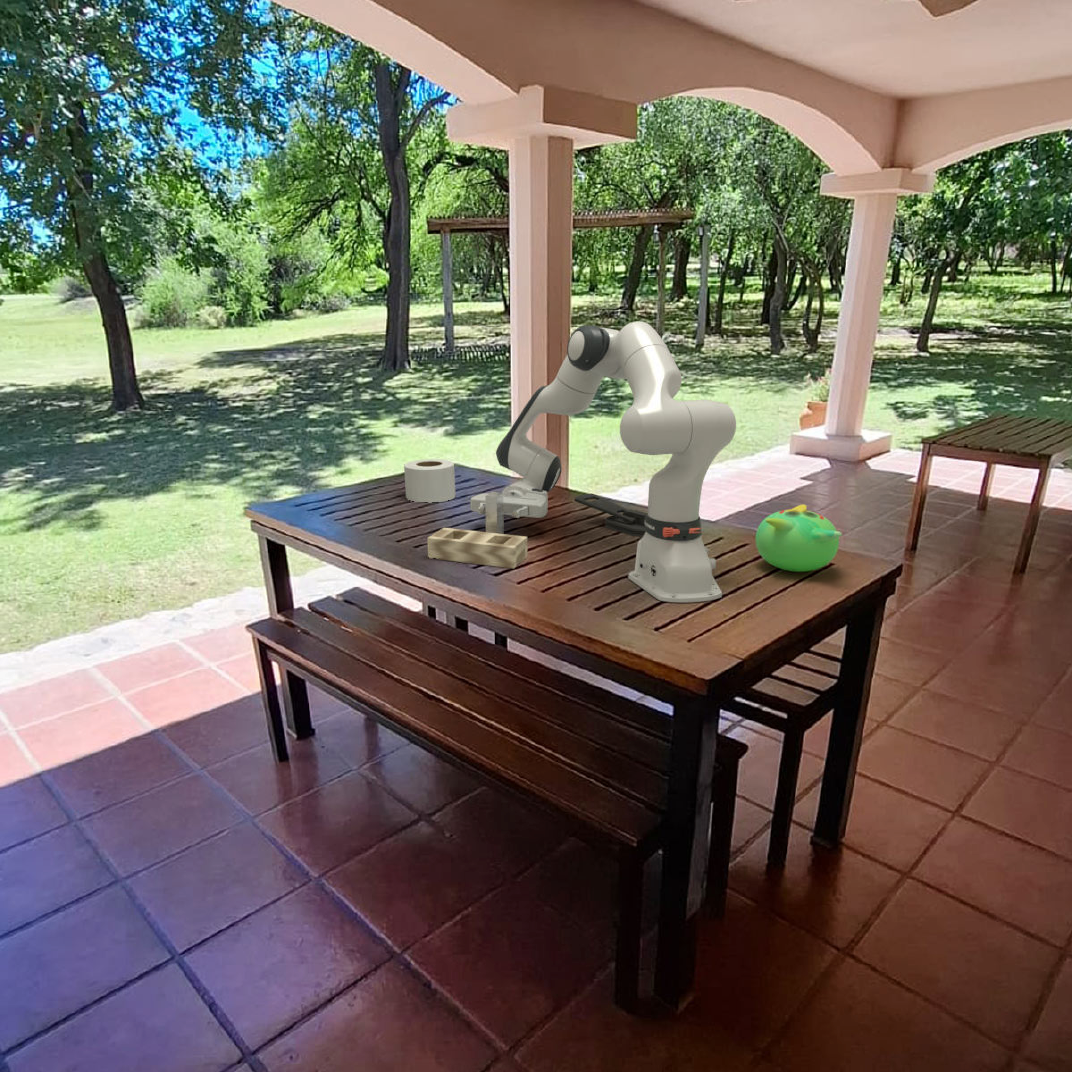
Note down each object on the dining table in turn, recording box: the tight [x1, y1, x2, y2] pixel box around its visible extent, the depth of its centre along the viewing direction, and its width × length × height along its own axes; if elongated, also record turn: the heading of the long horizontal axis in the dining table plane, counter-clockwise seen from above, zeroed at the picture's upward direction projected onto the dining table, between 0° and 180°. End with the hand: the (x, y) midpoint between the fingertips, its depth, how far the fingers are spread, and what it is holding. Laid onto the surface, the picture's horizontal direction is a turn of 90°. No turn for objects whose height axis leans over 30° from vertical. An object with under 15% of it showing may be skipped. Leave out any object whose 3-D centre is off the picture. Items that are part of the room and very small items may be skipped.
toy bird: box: [755, 504, 843, 573], centre depth 169 cm, size 18×17×15 cm
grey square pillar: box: [485, 491, 505, 534], centre depth 186 cm, size 3×4×13 cm, turn 161°
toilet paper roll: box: [403, 458, 456, 504], centre depth 231 cm, size 16×15×11 cm
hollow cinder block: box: [426, 527, 528, 569], centre depth 177 cm, size 22×9×5 cm, turn 71°
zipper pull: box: [574, 492, 648, 538], centre depth 203 cm, size 9×7×25 cm
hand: (498, 512), depth 187 cm, fingers open, 8 cm apart
